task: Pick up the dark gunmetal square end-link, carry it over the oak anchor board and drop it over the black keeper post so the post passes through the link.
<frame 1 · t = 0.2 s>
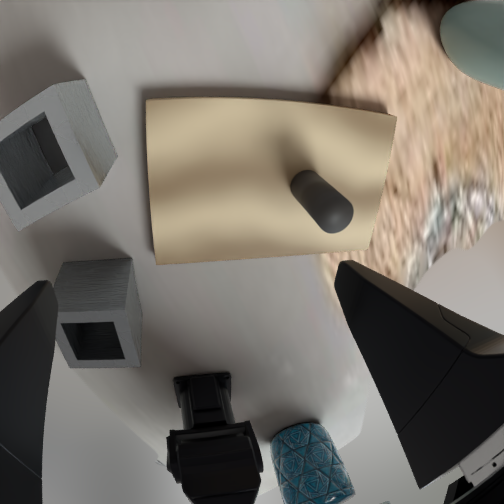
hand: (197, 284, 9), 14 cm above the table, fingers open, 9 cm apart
anchor board: (274, 179, 23), on the table
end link: (103, 289, 25), on the table
grey open cube box: (64, 137, 18), on the table
cup: (454, 38, 19), on the table
lamp: (295, 432, 49), on the table
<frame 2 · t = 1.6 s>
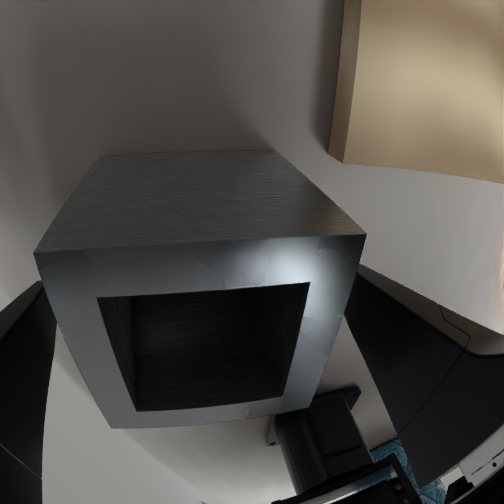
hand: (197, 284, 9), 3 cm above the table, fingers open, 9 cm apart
anchor board: (493, 65, 10), on the table
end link: (189, 231, 12), on the table
lamp: (379, 451, 35), on the table
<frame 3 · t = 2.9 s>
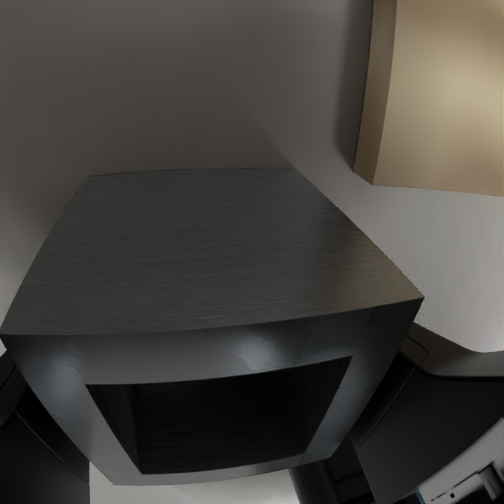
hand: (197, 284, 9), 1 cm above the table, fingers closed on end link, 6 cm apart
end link: (193, 260, 10), on the table, touching gripper
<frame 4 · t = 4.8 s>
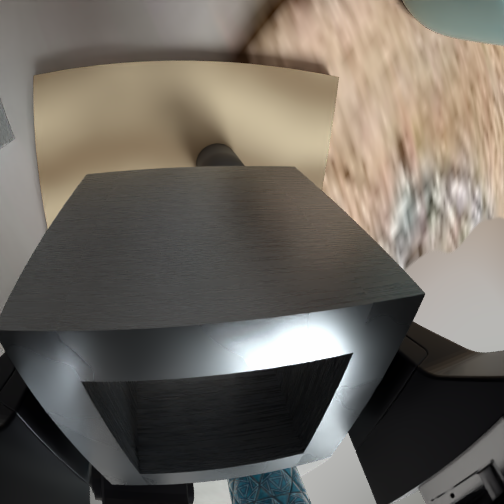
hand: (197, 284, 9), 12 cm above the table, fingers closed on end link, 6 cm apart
anchor board: (181, 158, 19), on the table
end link: (192, 258, 10), point 11 cm above the table, touching gripper
lamp: (255, 453, 43), on the table
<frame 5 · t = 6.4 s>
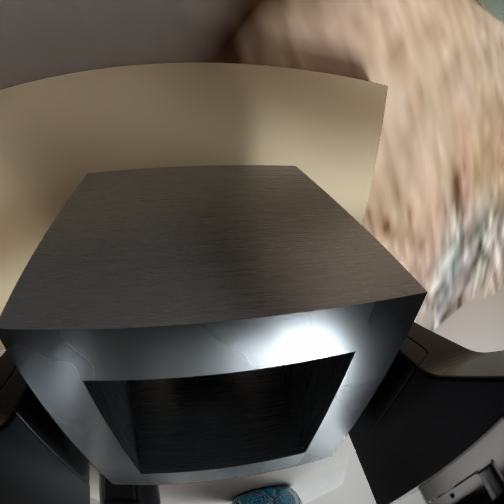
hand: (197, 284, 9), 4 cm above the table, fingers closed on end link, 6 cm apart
anchor board: (139, 222, 12), on the table
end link: (193, 258, 10), point 3 cm above the table, touching gripper
lamp: (261, 492, 37), on the table
when the fingers open (4 cm above the table, at t = 7.2 s): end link drops 2 cm, resting on anchor board.
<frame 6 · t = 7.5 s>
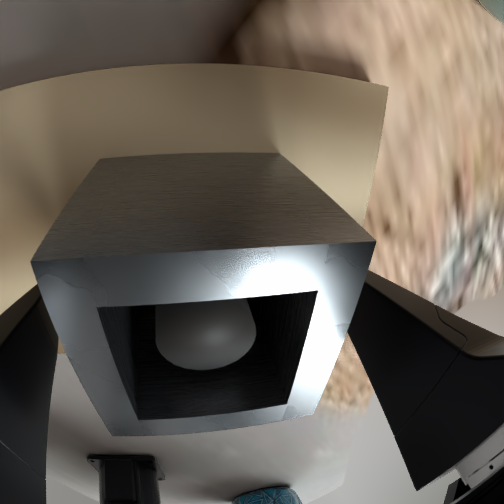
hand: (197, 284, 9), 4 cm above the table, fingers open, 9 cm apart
anchor board: (139, 224, 12), on the table
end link: (190, 234, 11), point 1 cm above the table, touching anchor board
lamp: (261, 493, 37), on the table
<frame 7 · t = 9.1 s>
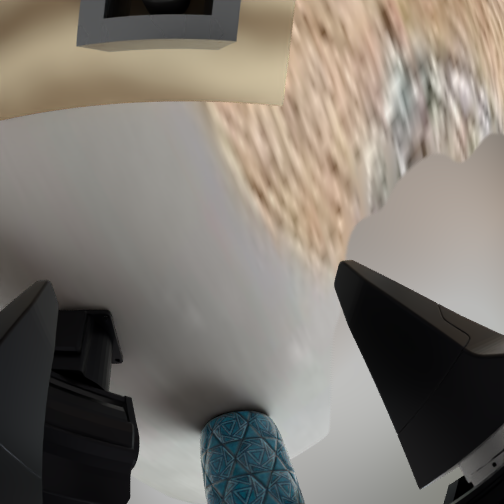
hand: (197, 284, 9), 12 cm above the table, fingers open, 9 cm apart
anchor board: (134, 6, 13), on the table
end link: (167, 0, 12), point 1 cm above the table, touching anchor board
lamp: (235, 422, 39), on the table
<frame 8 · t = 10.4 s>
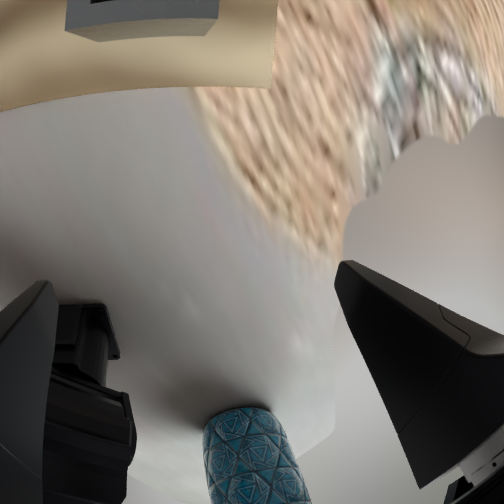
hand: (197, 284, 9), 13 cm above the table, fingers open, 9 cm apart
lamp: (238, 420, 38), on the table
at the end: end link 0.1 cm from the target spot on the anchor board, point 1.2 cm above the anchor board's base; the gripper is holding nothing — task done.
